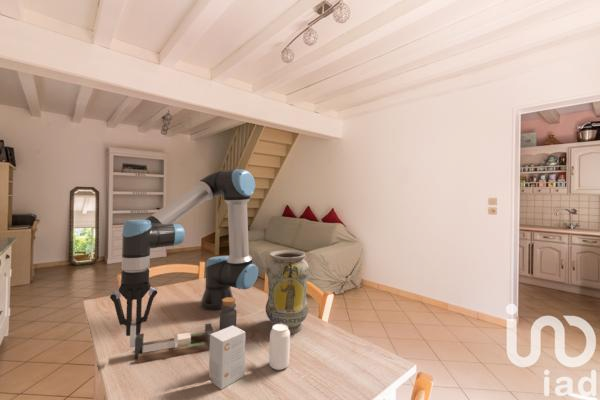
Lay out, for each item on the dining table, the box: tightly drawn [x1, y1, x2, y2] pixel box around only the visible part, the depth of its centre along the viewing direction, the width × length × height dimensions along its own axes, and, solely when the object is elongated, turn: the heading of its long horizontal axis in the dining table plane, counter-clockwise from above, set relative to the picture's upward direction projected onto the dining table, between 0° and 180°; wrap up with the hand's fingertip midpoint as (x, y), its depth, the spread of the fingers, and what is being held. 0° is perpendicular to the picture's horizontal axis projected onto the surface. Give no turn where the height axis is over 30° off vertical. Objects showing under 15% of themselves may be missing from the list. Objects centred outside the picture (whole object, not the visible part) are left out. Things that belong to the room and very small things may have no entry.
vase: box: [265, 249, 310, 335], centre depth 113 cm, size 18×18×30 cm
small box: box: [208, 325, 246, 390], centre depth 79 cm, size 8×6×13 cm
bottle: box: [218, 297, 238, 331], centre depth 100 cm, size 6×6×15 cm
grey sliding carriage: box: [134, 333, 178, 360], centre depth 88 cm, size 12×7×6 cm, turn 115°
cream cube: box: [176, 332, 191, 347], centre depth 93 cm, size 4×4×4 cm
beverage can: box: [268, 324, 291, 371], centre depth 86 cm, size 6×6×12 cm
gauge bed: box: [137, 323, 215, 365], centre depth 92 cm, size 22×9×6 cm, turn 115°
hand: (133, 344), depth 87 cm, fingers closed
